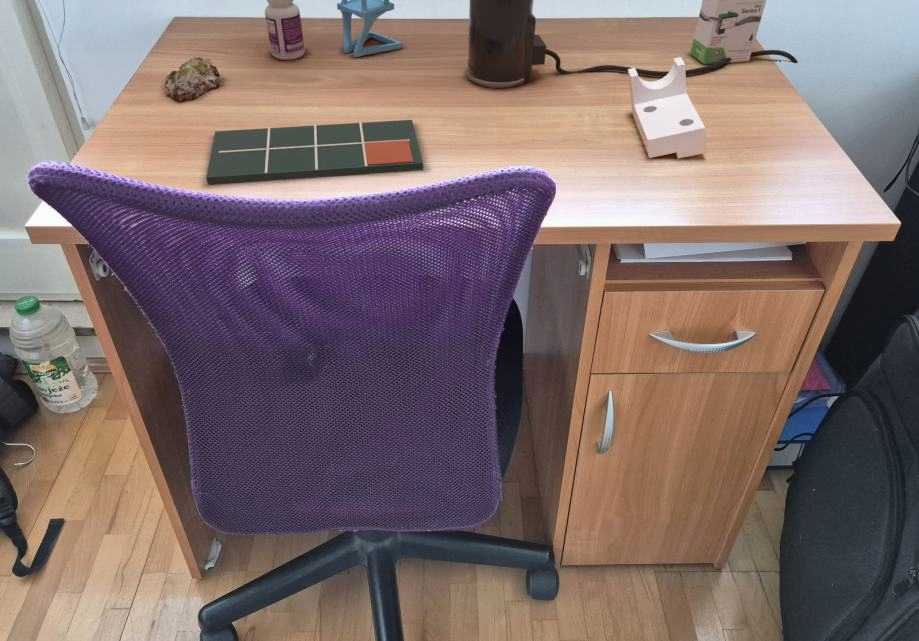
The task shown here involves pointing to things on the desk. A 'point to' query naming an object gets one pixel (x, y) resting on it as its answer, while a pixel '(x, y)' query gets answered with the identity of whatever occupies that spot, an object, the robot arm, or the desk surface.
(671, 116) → the bracket
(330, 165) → the grid board
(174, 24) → the desk surface
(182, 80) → the mineral rock
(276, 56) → the pill bottle
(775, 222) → the desk surface
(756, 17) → the ink box
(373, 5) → the chair
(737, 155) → the desk surface
